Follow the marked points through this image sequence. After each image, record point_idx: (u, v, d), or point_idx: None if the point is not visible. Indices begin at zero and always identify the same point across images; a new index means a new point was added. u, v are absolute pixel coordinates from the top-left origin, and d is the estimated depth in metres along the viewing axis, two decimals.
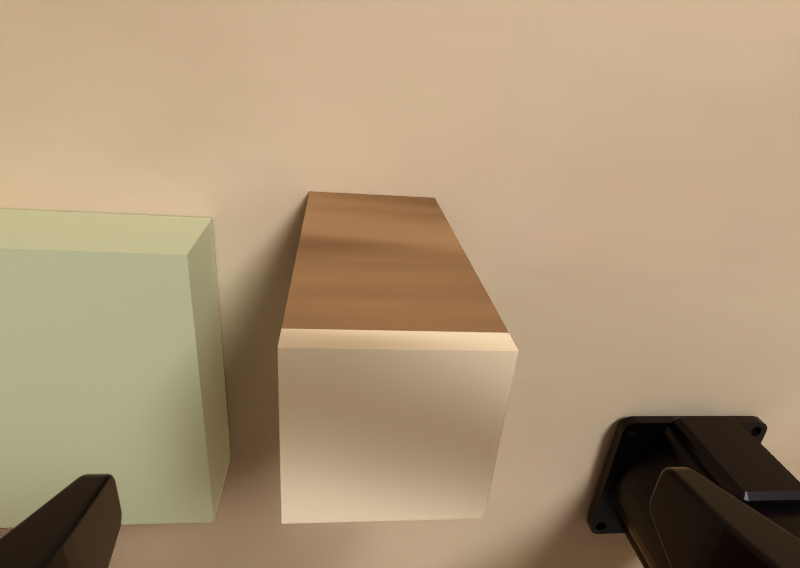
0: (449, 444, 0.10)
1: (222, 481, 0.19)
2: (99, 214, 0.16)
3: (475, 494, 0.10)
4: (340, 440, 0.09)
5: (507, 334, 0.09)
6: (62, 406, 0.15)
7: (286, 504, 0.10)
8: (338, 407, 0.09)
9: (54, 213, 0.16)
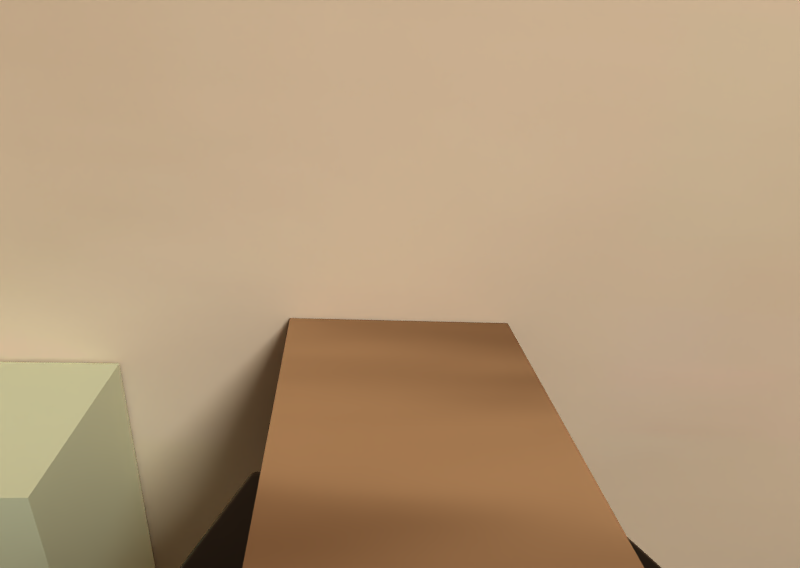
0: None
1: None
2: None
3: None
4: None
5: None
6: None
7: None
8: None
9: None
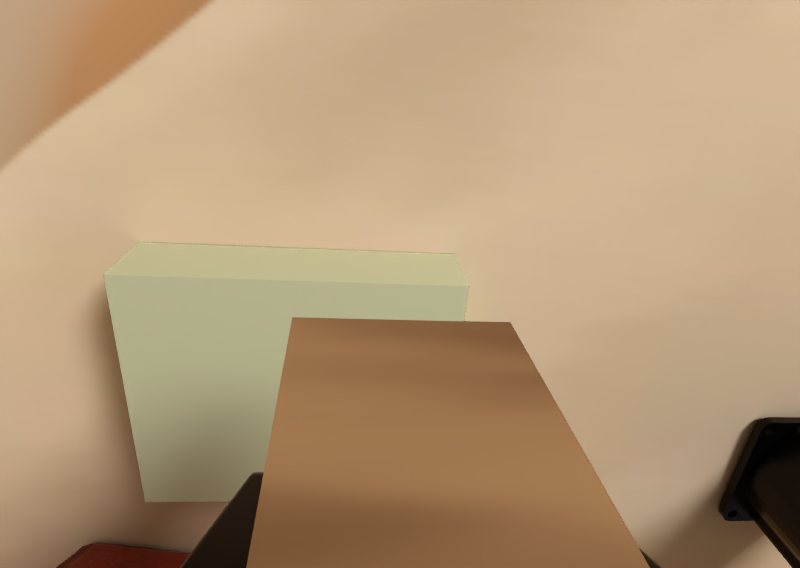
0: None
1: None
2: (371, 252, 0.20)
3: None
4: None
5: None
6: None
7: None
8: None
9: (339, 251, 0.20)
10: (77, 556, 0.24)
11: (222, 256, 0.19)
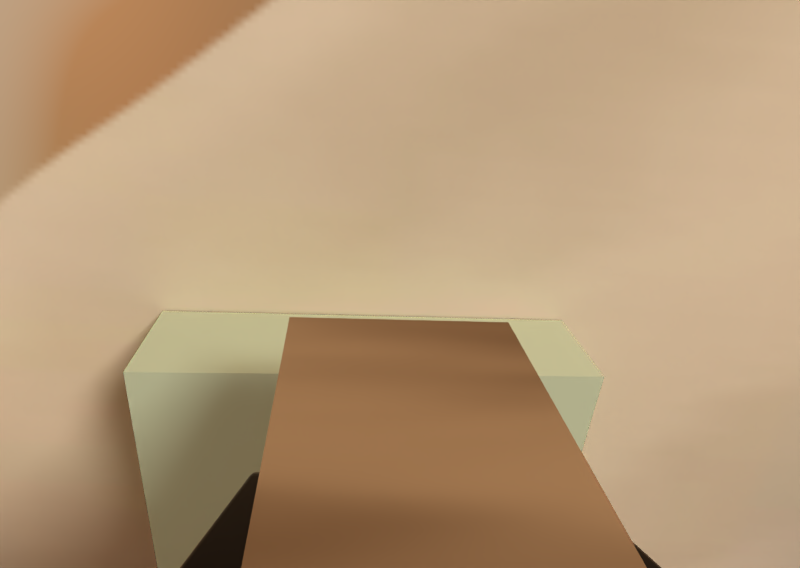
0: None
1: None
2: (460, 320, 0.16)
3: None
4: None
5: None
6: None
7: None
8: None
9: None
10: None
11: (276, 333, 0.14)
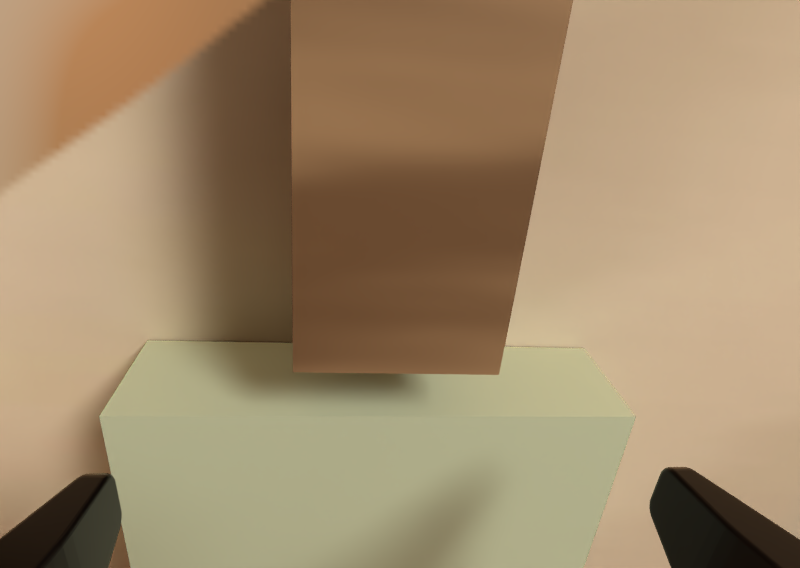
0: None
1: None
2: None
3: None
4: None
5: None
6: (446, 563, 0.14)
7: None
8: None
9: None
10: None
11: (272, 366, 0.13)
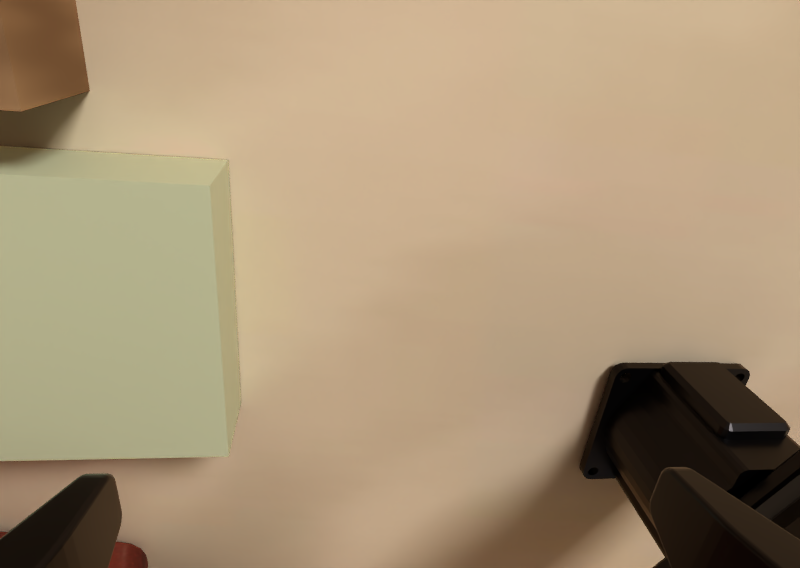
0: None
1: (234, 421, 0.20)
2: (119, 154, 0.16)
3: None
4: None
5: None
6: (86, 337, 0.16)
7: None
8: None
9: (76, 152, 0.16)
10: None
11: None
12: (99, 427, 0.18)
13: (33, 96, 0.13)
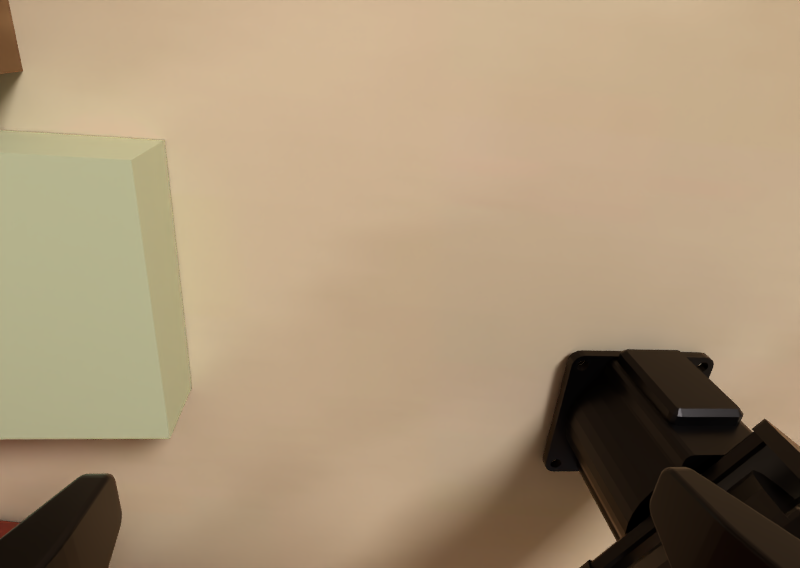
0: None
1: (180, 404, 0.20)
2: (55, 134, 0.17)
3: None
4: None
5: None
6: (18, 314, 0.16)
7: None
8: None
9: (12, 132, 0.16)
10: None
11: None
12: (38, 406, 0.18)
13: None
